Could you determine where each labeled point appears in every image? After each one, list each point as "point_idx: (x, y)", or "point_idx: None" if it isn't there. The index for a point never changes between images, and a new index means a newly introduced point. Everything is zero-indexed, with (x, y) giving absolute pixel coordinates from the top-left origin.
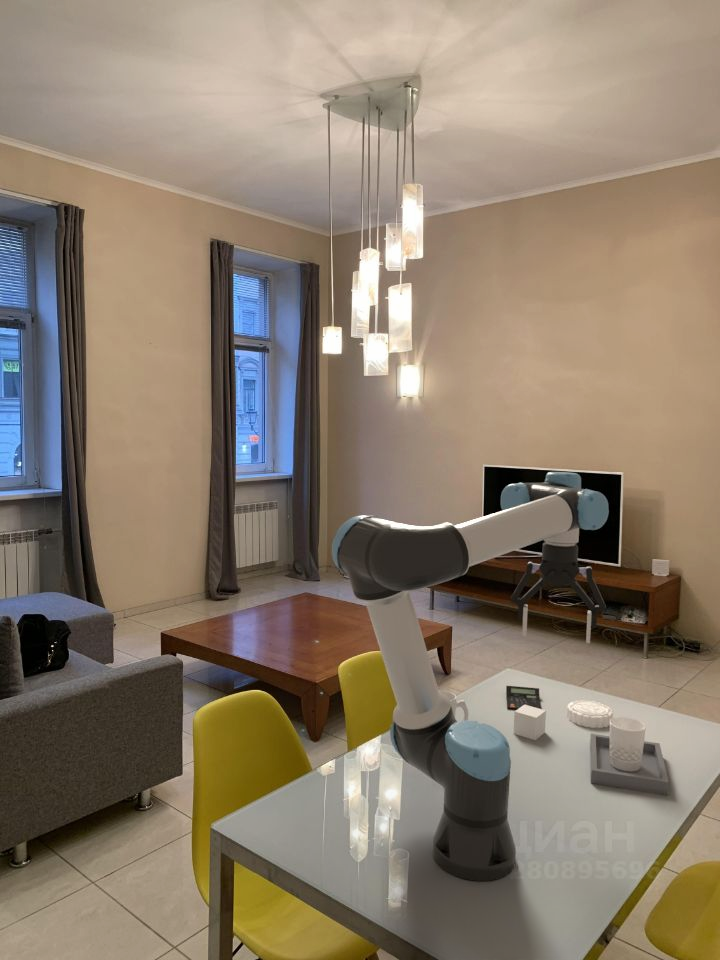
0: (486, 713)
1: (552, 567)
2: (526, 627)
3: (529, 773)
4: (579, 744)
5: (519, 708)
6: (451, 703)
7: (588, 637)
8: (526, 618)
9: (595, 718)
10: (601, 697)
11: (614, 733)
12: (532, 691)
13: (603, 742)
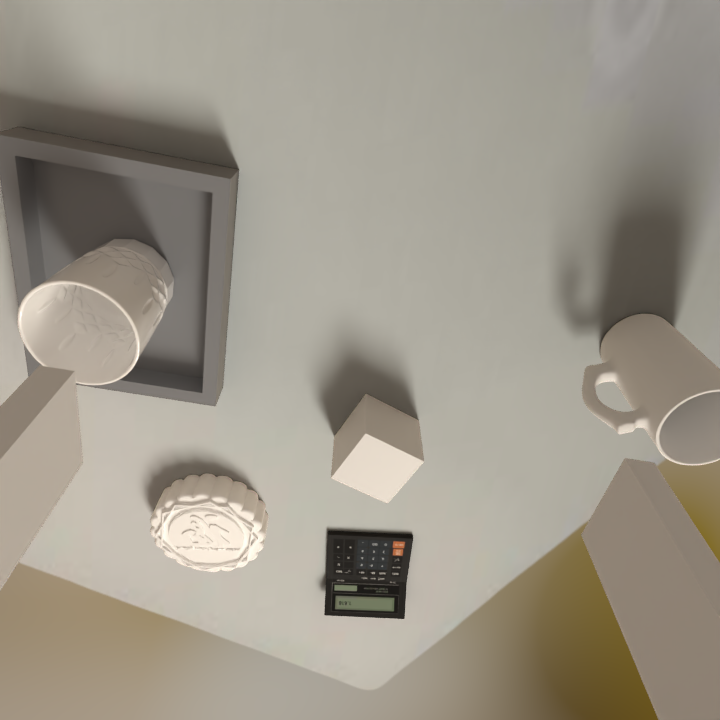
0: (470, 509)
1: None
2: (620, 557)
3: (413, 201)
4: (250, 387)
5: (406, 480)
6: (680, 393)
7: (26, 402)
8: (706, 615)
9: (196, 492)
10: (177, 609)
11: (131, 298)
12: (341, 604)
13: (184, 381)
